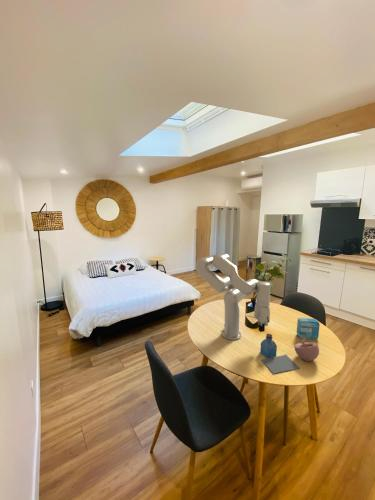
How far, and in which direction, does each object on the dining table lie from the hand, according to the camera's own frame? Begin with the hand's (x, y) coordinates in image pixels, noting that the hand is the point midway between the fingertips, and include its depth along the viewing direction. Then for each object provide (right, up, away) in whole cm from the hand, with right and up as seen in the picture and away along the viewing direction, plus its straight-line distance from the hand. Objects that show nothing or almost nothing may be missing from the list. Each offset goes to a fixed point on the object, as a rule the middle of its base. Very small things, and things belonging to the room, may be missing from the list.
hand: (261, 330), depth 136 cm
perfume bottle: (+2, -12, -6) cm, 13 cm away
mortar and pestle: (+22, -12, -10) cm, 27 cm away
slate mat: (+5, -13, -15) cm, 20 cm away
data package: (+34, -8, +11) cm, 37 cm away
